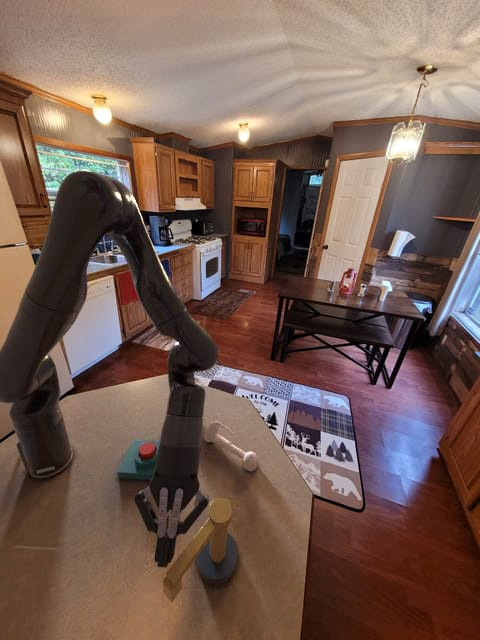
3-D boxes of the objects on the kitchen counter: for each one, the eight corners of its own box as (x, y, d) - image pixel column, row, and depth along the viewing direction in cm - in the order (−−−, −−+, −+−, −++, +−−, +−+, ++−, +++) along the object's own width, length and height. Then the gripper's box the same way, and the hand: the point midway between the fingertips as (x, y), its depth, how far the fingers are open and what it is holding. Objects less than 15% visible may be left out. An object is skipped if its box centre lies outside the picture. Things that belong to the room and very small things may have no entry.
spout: (218, 508, 50) (219, 493, 48) (235, 523, 48) (236, 508, 46) (158, 585, 39) (156, 569, 37) (176, 609, 37) (175, 593, 35)
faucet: (245, 482, 71) (258, 465, 66) (200, 437, 77) (209, 419, 72) (252, 471, 74) (266, 454, 69) (209, 429, 80) (218, 411, 75)
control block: (118, 478, 65) (116, 467, 63) (134, 445, 74) (132, 435, 73) (165, 481, 65) (164, 470, 63) (175, 447, 74) (174, 437, 73)
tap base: (194, 583, 48) (194, 544, 43) (200, 533, 55) (201, 495, 50) (236, 586, 48) (241, 547, 43) (237, 536, 55) (241, 498, 50)
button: (137, 458, 66) (136, 454, 66) (143, 445, 70) (142, 441, 69) (152, 459, 66) (152, 455, 66) (157, 446, 70) (157, 442, 69)
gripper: (137, 441, 43) (110, 575, 36) (215, 447, 43) (203, 582, 36) (150, 438, 49) (129, 550, 43) (217, 443, 50) (207, 556, 43)
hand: (163, 564), depth 40 cm, fingers closed
